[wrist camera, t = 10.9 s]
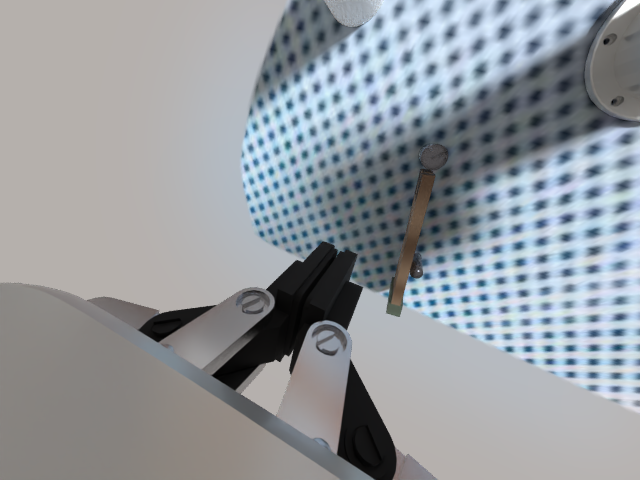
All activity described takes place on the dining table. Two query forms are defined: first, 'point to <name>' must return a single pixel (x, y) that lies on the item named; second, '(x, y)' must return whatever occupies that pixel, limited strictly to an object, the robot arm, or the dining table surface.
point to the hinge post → (433, 156)
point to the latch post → (416, 266)
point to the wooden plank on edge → (410, 241)
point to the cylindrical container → (353, 10)
